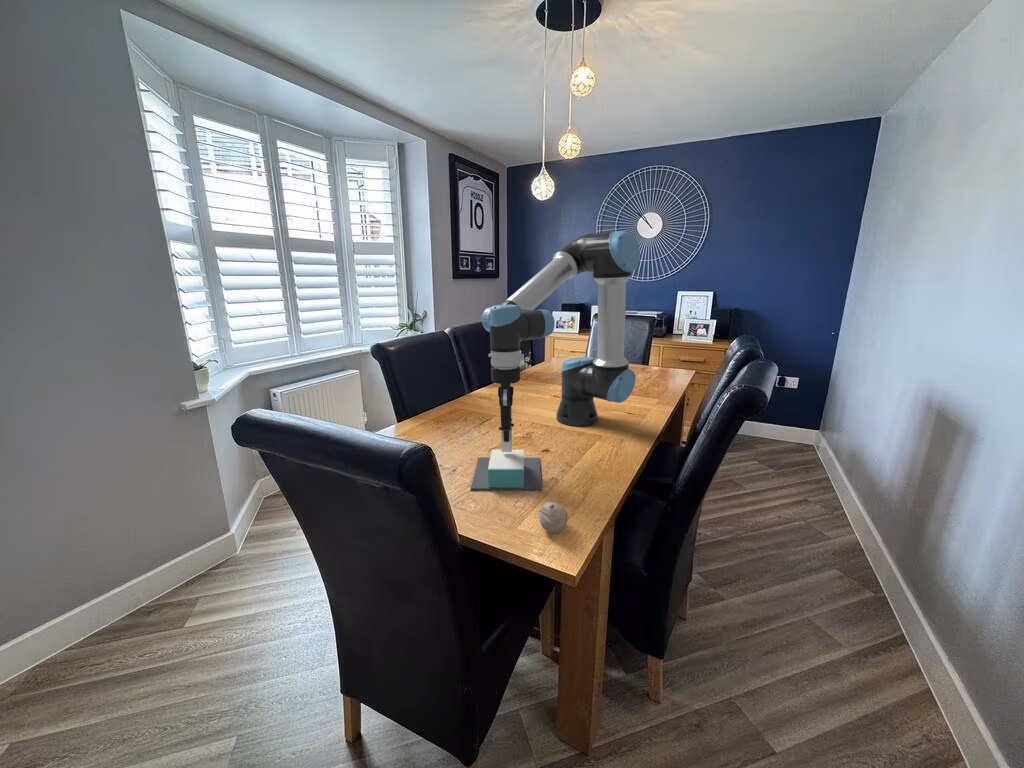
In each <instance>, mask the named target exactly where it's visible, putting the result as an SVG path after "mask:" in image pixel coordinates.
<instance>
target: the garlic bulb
mask: <svg viewBox="0 0 1024 768" xmlns="http://www.w3.org/2000/svg"><path fill="white" fill-rule="evenodd" d="M538 512H539V513H538V516H539V522H540V526H541V527H542V529H544V530H545V531H547V532H548V533H550V534H553V535H555V534H557V535H558V534H560V533H562V532H563V531H564V530H565V529H566V527H567V525H568V519H569V518H568V517H569V516H568V510H566V508H565V507H564V506H563V505H562V504H559V503H557V502H554V501H550V502H545V503H544V504H543V505H542V506H541V508H540V509H539V511H538Z"/></svg>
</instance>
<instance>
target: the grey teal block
mask: <svg viewBox="0 0 1024 768" xmlns="http://www.w3.org/2000/svg"><path fill="white" fill-rule="evenodd" d="M524 458H525V449H512V452H502V449H491V451H490V461H489V466H488V487H496V488H524Z"/></svg>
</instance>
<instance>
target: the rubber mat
mask: <svg viewBox="0 0 1024 768" xmlns="http://www.w3.org/2000/svg"><path fill="white" fill-rule="evenodd" d="M540 460H541V459H540V457H524V488H496V487H488V466H489V461H490V457H486V456H485V457H482V456H481V457H477V462H476V466H475V469H474V473H473V476H472V477H473V478H472V482H471V486H470V491H471V492H472V491H474V492H475V491H478V492H479V491H480V492H481V491H482V492H483V491H484V492H488V491H489V492H491V491H492V492H496V491H498V492H499V491H501V492H502V491H503V492H506V491H507V492H509V491H510V492H511V491H512V492H514V491H515V492H516V491H517V492H520V491H521V492H542V489H543V487H542V477H541V476H542V475H541V463H540V462H541V461H540Z"/></svg>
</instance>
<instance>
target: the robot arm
mask: <svg viewBox="0 0 1024 768" xmlns="http://www.w3.org/2000/svg"><path fill="white" fill-rule="evenodd" d="M640 259H641V250H640V245H639V242H638V240H637V238H636V237H635V235H634V234H633V233H631V232H629V231H626V230H625V231H623V230H620V231H619V230H615V231H614V230H613V231H606V232H597V233H585V234H583V235H581V236H578V237H577V238H575V239H573V240H572V241H570V242H568V243H566V245H564V246H563V247H562V248H560V249H559V250H558V251H557V252H556V253H554V254H553V256H552V261H550V262H549V263H547V264H546V265H545V266H544V267H543V268H541V270H539V271H538V272H537V273H536V274H535V275H534V276H533V277H531V278H530V279H529V280H528V281H526V282H525V283H524V284H523V285H521V287H520V288H519V289H518V290H516V291H515V292H513V294H511V296H508V298H507V299H506V300H504V301H503V302H502V303H501V304H495V305H492V306H490V307H489V306H488V307H487V308H485V310H484V311H483V312H482V314H481V324H482V327H483V328H484V329H485V331H487V332H489V341H490V342H489V344H490V353H488V355H487V356H488V357H489V358H491V359H490V366H491V368H490V375H491V376H490V377H491V378H490V379H491V382H493V383H494V384H499V385H500V386H498V390H497V396H498V398H499V399H498V405H499V407H500V426H499V427H498V431H501V436H500V437H501V450H502V452H512V450H513V436H512V434H513V433H512V432H513V431H512V430H513V429H512V428H514V427H515V423H512V421H513V418H512V406H513V402H514V401H513V400H514V398H513V397H514V388H515V387H514V386H512V385H511V384H516V383H518V382H520V381H521V367H520V365H521V342H523V341H528V340H536V339H542V338H546V337H548V336H550V335H552V333H554V330H555V325H556V324H555V323H556V322H555V317H554V315H553V314H552V312H551V311H549V310H548V309H538V308H537V307H538V306H540V305H541V304H542V303H543V302H544V301H545V300H546V299H547V298H548V297H549V296H550V295H552V294H553V292H555V291H556V290H557V289H559V287H560V286H561V285H562V284H564V283H565V282H566V281H567V280H569V279H570V280H571V279H574V278H575V277H576V276H577V275H579V274H581V273H587V272H592V278H593V280H594V281H595V282H596V284H597V357H596V358H595V357H592V356H582V357H581V356H580V357H579V356H578V357H573V358H572V357H570V358H568V359H567V358H566V359H565V360H564V361H563V362H562V366H561V398H560V402H559V405H558V407H557V410H556V415H555V416H556V421H557V422H559V423H561V424H564V425H567V426H571V427H572V426H573V427H587V426H591V425H594V424H596V423H598V418H599V417H598V416H599V415H598V414H599V413H598V411H597V408H596V404H595V400H594V399H600V400H602V401H607V402H609V403H611V402H612V403H617V404H618V403H619V404H620V403H624V402H625V401H626V400H628V399H629V398H630V396H631V394H632V393H633V392H634V388H635V386H636V381H637V377H636V373H635V371H633V370H632V369H631V368H629V360H628V359H627V358H626V357H625V341H626V340H625V338H626V337H625V334H626V333H625V331H626V304H627V303H626V302H627V301H626V294H627V293H626V292H627V290H626V289H627V282H628V281H629V280H630V278H632V272H634V271H635V270H636V269H637V268H638V266H639V263H640V261H641V260H640ZM536 308H537V309H536Z"/></svg>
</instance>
